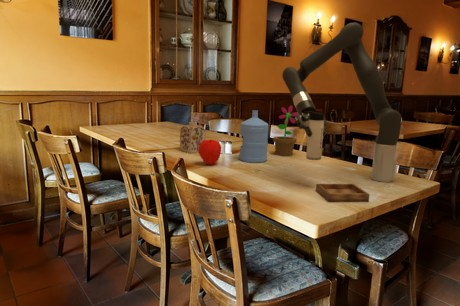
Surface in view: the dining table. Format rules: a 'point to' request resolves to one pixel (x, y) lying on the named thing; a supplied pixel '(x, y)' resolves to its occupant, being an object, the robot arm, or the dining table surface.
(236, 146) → the dining table surface
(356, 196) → the tray
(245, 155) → the water jug
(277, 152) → the flowerpot
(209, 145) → the apple
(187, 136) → the decorative jar
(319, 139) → the travel mug
